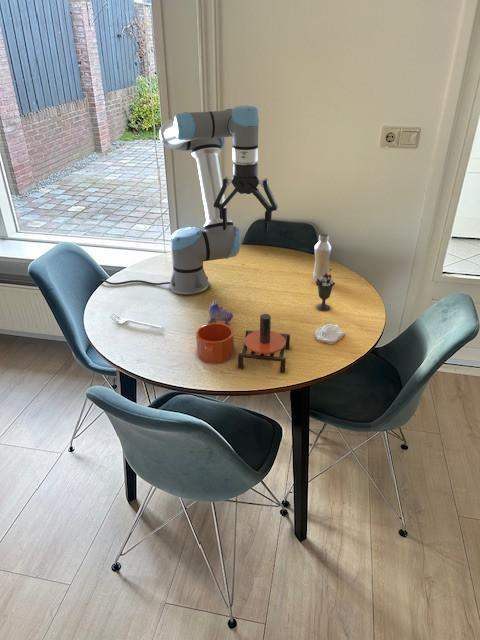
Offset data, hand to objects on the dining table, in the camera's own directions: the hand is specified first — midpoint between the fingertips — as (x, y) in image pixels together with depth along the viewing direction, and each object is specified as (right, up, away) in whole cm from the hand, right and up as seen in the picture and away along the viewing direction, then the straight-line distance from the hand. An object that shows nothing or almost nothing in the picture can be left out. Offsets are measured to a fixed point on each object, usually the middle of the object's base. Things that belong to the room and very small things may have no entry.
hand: (245, 229), depth 155 cm
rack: (+6, -41, -7) cm, 42 cm away
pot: (-9, -39, -5) cm, 41 cm away
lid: (+6, -36, -10) cm, 38 cm away
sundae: (+29, -25, +20) cm, 43 cm away
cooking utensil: (-43, -29, +12) cm, 53 cm away
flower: (-9, -31, +10) cm, 34 cm away
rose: (+28, -35, +3) cm, 45 cm away
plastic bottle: (+31, -14, +38) cm, 51 cm away
